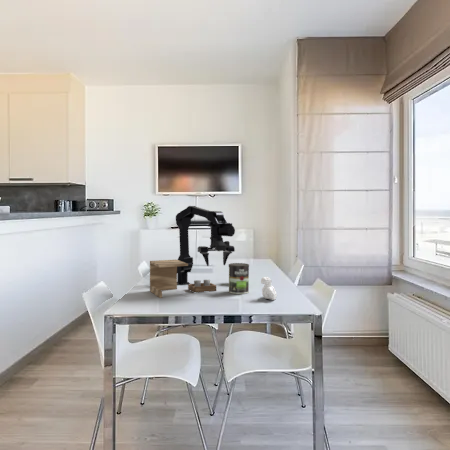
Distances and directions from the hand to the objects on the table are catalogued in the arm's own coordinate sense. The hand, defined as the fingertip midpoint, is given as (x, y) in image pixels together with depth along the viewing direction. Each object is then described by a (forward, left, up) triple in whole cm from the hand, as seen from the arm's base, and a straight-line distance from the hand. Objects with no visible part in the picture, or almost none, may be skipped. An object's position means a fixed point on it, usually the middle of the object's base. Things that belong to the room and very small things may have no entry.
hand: (216, 265), depth 203 cm
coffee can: (+10, +8, -13) cm, 18 cm away
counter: (-2, -25, -13) cm, 28 cm away
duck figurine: (+29, +14, -13) cm, 35 cm away
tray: (-2, -7, -13) cm, 14 cm away
